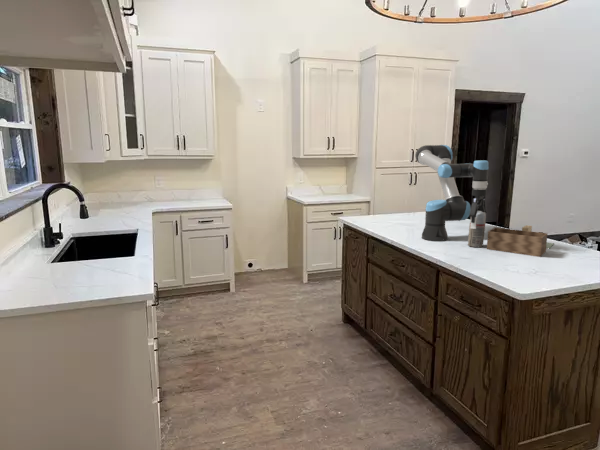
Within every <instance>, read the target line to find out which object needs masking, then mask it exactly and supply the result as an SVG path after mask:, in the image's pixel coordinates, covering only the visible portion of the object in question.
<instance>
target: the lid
mask: <svg viewBox="0 0 600 450" xmlns="http://www.w3.org/2000/svg"><path fill="white" fill-rule="evenodd" d="M532 229H533V225H529V224H528V225H524V226H522V227H521V231H530V232H532ZM552 245H553V246H554V245H555V243H553V242H547V244H546V248H549V249H550V248H551V247H553V246H552Z"/></svg>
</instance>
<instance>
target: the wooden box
mask: <svg viewBox="0 0 600 450" xmlns="http://www.w3.org/2000/svg"><path fill="white" fill-rule="evenodd" d="M547 241H548V233H546V232H538V231H531V232H530V231H522V229H521V230H520V229H513V228H511V229H510V228H509V229H508V228H503V227H493V228H492V229H489V230H488V231H487V243H486V250H491V251H497V252H498V251H499V252H503V253H509V254H510V253H511V254H519V255H523V256H531V257H532V256H533V257H539V258H541V257H542V256H543V255H545V253H546V250H547V249H546V244H547Z"/></svg>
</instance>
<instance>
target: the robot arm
mask: <svg viewBox="0 0 600 450" xmlns="http://www.w3.org/2000/svg"><path fill="white" fill-rule="evenodd" d="M453 155H454V153H453V150H452V148H451V146H449V145H447V144H439V145H438V144H435V145H434V144H432V145H431V144H430V145H429V144H428V145H423V146H420V147H419V148H417V150H416V152H415V155H414V156H415V160H416V161H417V162H418V163H419V164H421V165H423V166H427V167H429V168H430V169H432V170H434V171H436V174H437V175H438V180H439V183H440V185H441V186H440V187H441V189H442V193H443V195H444V199H433V200H429V201H428V202H426V205H425V206H426V207H425V218H424V220H425V221H424V222H425V224H424V228H423V230H422V233H421V239H423V240H426V241H432V242H443V241H444V242H445V241H447V240H448V237H449V236H448V235H449V234H448V231H447V228H446V222H455V221H457V222H458V221H459V222H460V221H466V220H468V218H469V217H470V219H471V226H470V225H469V226H470V228H472V229H476V218H477V217H476V214H477V211H478V210H479V211H482V212H485V213H486V214H487V213H488V212H487V203H486V197H487V196H488V195H487V194H488V185H489V183H488V179H489V169H490V167H489V161H488V160H484V159H483V160H481V159H480V160H474V161H473V163H471V162H469V163H467V162H466V163H452V161H453V158H454V156H453ZM455 178H472V182H471V183H472V185H471V187H472V190H471V196H473V197H474V198H472V201H471V204H470V202H469V201H467V200H465V199H464V196H463V195H460V193H459V190H458V187H457V183H456V180H455Z"/></svg>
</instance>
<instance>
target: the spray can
mask: <svg viewBox="0 0 600 450" xmlns="http://www.w3.org/2000/svg"><path fill="white" fill-rule="evenodd" d="M476 217H477V218H476V229H472V228H470V226H471V218H470V221H469V229H468V239H467V240H468V242H467V246H469V247H472V248H483V246H484V241H485V239H484V238H485V231H486V219H487V213H485V212H482V211H480V210H479V209H478V211H477V214H476Z"/></svg>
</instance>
